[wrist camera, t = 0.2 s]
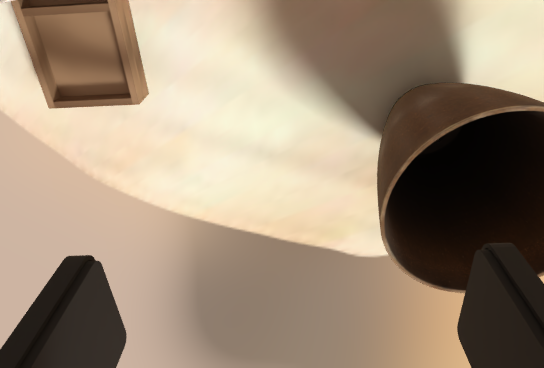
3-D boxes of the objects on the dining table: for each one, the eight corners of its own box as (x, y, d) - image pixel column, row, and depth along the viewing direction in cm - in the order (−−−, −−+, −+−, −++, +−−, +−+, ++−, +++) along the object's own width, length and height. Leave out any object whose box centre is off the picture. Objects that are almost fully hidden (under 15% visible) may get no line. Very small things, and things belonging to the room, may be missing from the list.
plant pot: (487, 182, 44) (578, 291, 30) (348, 189, 45) (375, 298, 31) (519, 38, 36) (659, 97, 23) (351, 50, 37) (388, 114, 24)
